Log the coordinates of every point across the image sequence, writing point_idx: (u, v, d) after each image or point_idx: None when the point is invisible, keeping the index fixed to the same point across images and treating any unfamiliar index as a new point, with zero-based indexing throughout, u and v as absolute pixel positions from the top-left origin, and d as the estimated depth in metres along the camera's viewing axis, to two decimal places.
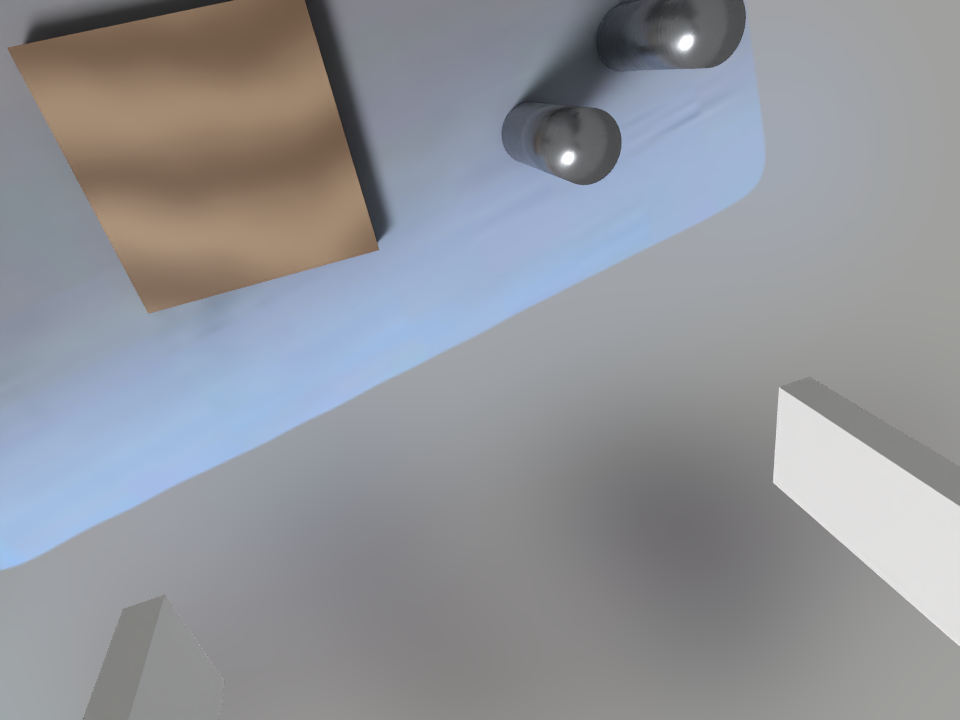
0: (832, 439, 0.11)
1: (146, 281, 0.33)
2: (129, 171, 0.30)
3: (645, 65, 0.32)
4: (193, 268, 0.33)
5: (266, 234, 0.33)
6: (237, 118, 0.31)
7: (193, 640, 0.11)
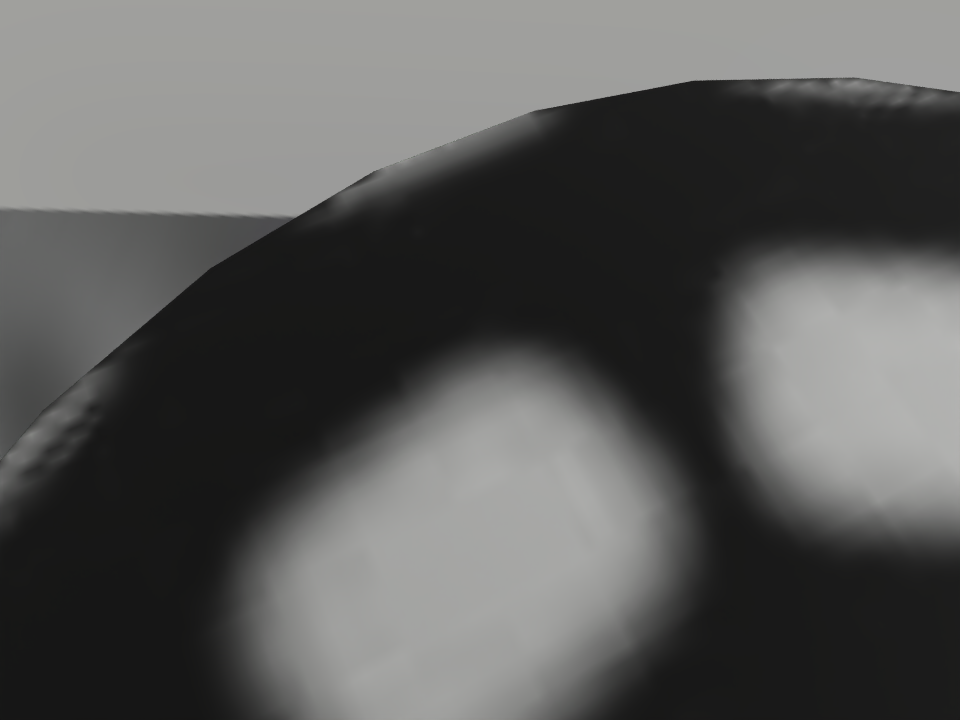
0: None
1: None
2: None
3: None
4: None
5: None
6: None
7: None
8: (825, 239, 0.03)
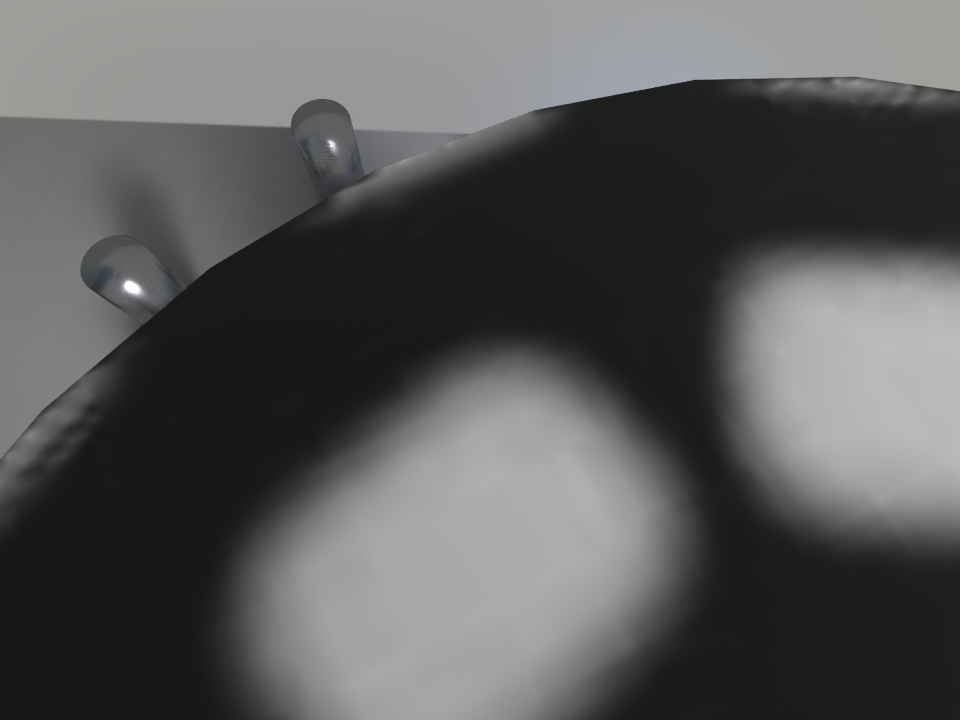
0: None
1: None
2: None
3: None
4: None
5: None
6: None
7: None
8: (827, 238, 0.03)
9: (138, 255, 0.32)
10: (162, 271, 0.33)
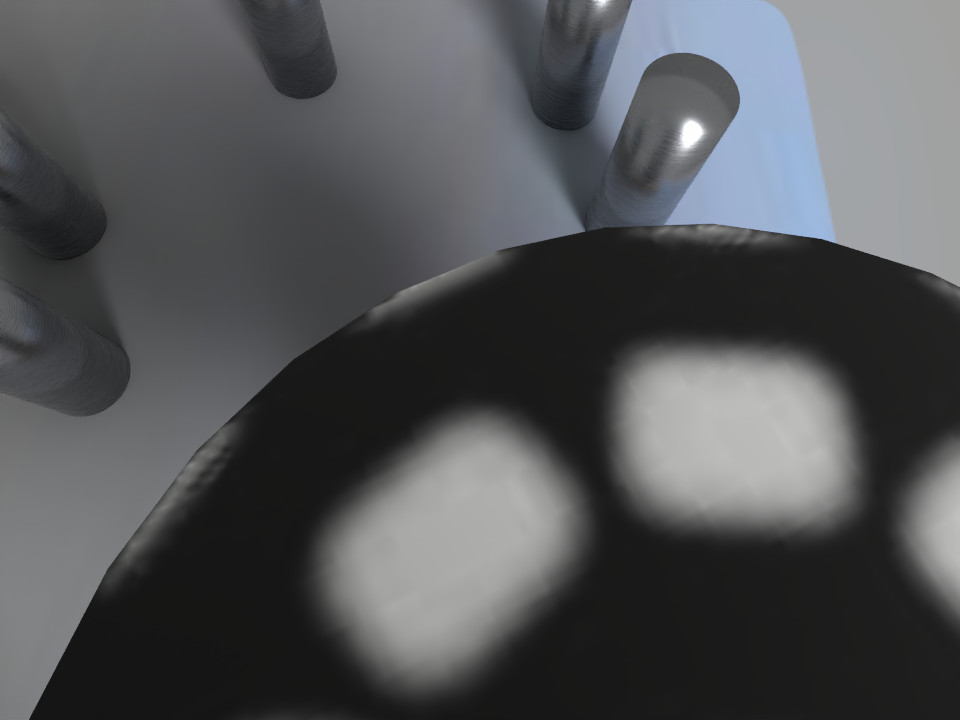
0: None
1: None
2: None
3: (607, 55, 0.26)
4: None
5: None
6: None
7: None
8: (683, 337, 0.04)
9: None
10: None
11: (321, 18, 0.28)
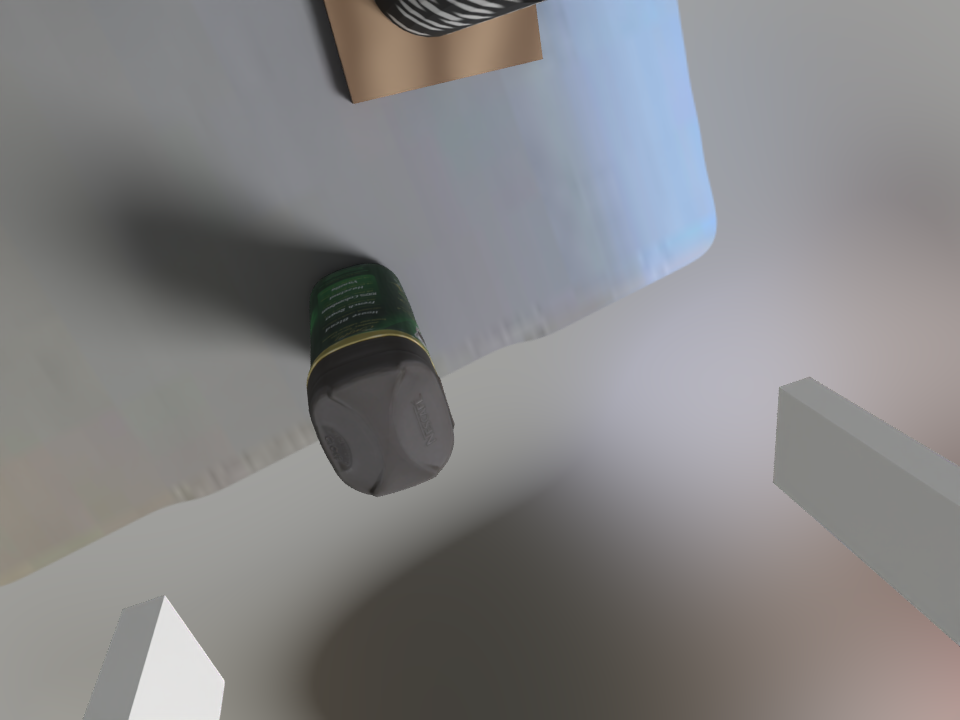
0: (832, 439, 0.11)
1: (517, 53, 0.41)
2: (433, 42, 0.39)
3: None
4: None
5: None
6: None
7: (193, 640, 0.11)
8: None
9: None
10: None
11: None
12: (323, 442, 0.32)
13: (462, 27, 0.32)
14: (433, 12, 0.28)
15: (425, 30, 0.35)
